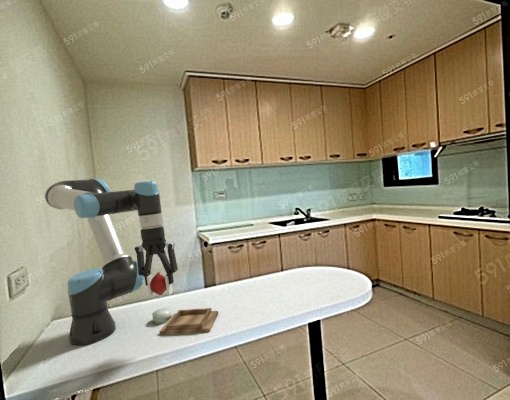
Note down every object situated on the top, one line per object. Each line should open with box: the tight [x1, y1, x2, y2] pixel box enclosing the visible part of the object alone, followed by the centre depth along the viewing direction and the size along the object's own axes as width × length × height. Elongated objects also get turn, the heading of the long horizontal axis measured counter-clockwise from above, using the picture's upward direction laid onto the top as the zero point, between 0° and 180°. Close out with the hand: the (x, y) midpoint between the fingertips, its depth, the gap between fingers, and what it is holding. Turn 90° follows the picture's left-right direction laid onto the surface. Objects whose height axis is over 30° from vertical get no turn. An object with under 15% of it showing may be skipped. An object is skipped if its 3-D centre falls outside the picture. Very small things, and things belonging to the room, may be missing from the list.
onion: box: [150, 271, 167, 296], centre depth 103 cm, size 6×6×8 cm
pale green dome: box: [152, 307, 173, 325], centre depth 119 cm, size 7×7×3 cm
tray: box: [159, 307, 219, 335], centre depth 113 cm, size 18×14×3 cm
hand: (161, 293), depth 104 cm, fingers closed on onion, 6 cm apart
